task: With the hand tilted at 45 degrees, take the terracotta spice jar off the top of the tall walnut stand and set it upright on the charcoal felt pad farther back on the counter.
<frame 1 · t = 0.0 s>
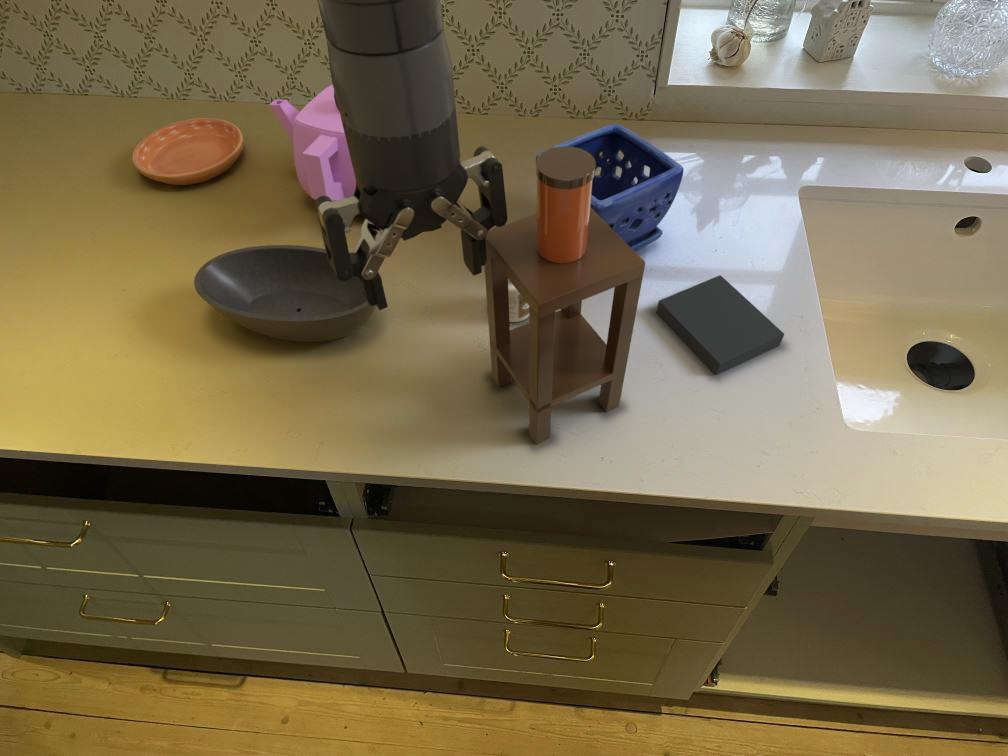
hand: (427, 285, 55), 18 cm above the worktop, tool pointing down, fingers open, 8 cm apart
spice jar: (561, 247, 54), point 20 cm above the worktop, touching stand
pill bottle: (514, 311, 78), on the worktop
flower pot: (600, 240, 86), on the worktop
pad: (716, 328, 75), on the worktop
teapot: (371, 193, 94), on the worktop
stand: (554, 392, 70), on the worktop
saucer: (195, 163, 100), on the worktop
bowl: (302, 320, 78), on the worktop
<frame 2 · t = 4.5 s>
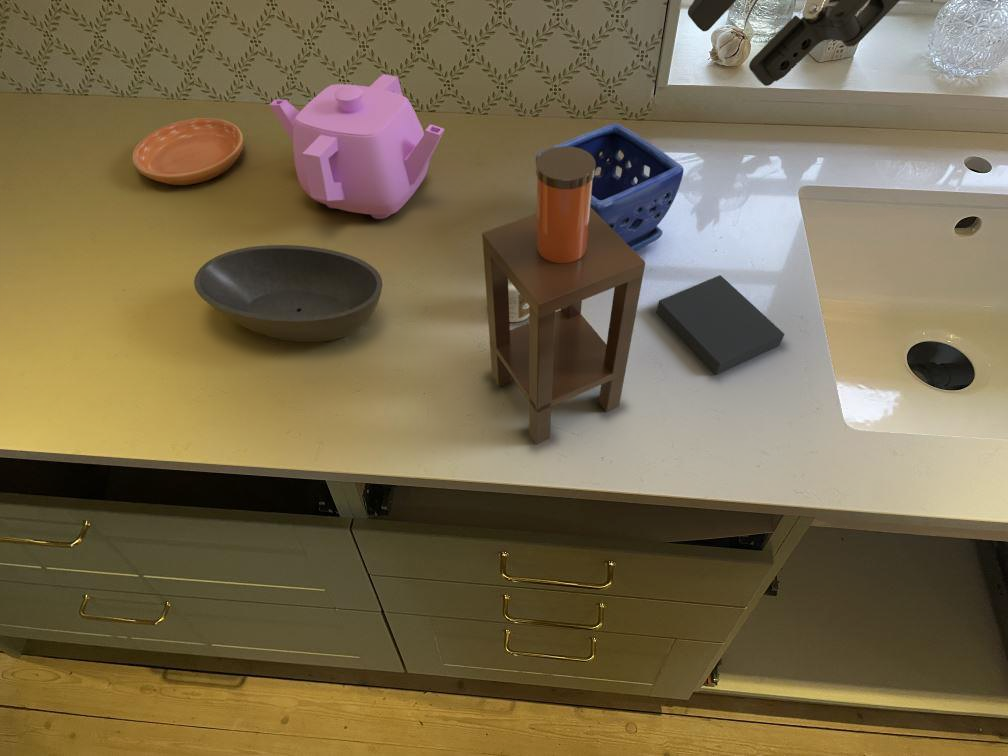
hand: (724, 48, 45), 34 cm above the worktop, tool tilted 45°, fingers open, 8 cm apart
nothing on the worktop moved.
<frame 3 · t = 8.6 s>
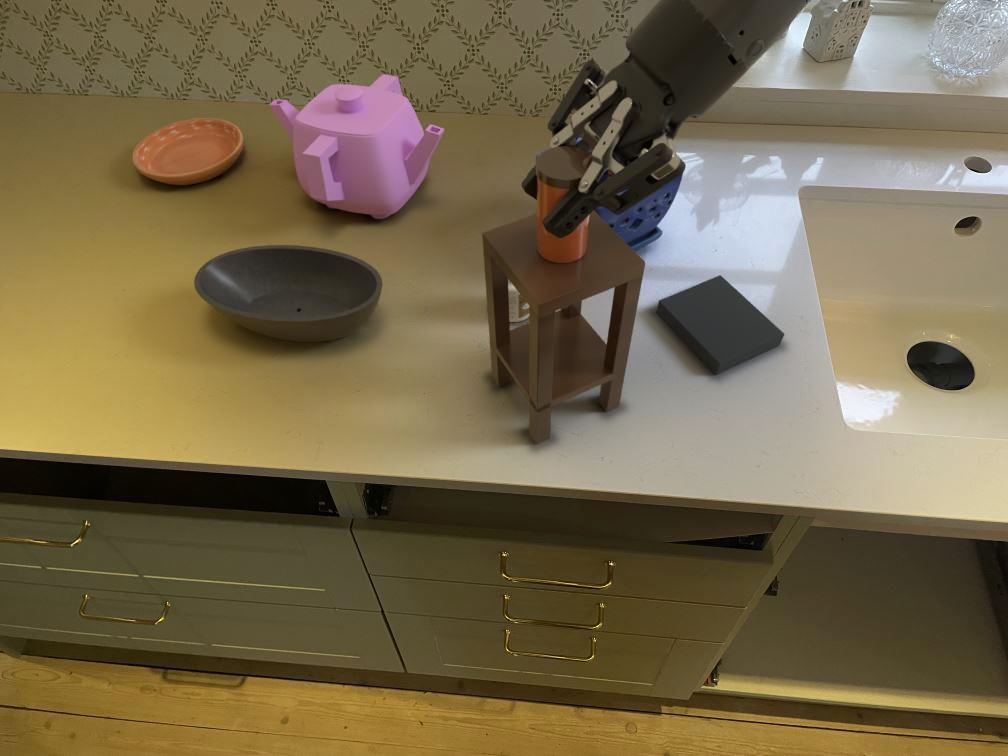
hand: (540, 211, 51), 24 cm above the worktop, tool tilted 45°, fingers closed on spice jar, 4 cm apart
spice jar: (561, 247, 54), point 20 cm above the worktop, touching gripper, stand
everything else where it was.
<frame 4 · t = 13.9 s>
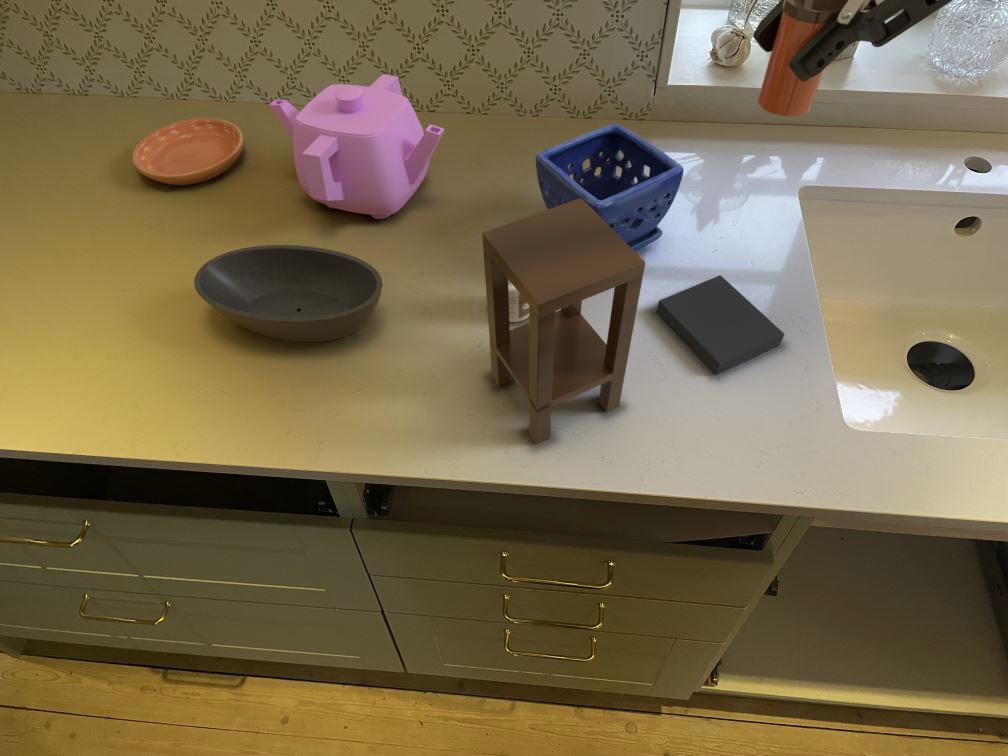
hand: (778, 57, 50), 31 cm above the worktop, tool tilted 45°, fingers closed on spice jar, 4 cm apart
spice jar: (784, 103, 53), point 27 cm above the worktop, touching gripper
everything else where it was.
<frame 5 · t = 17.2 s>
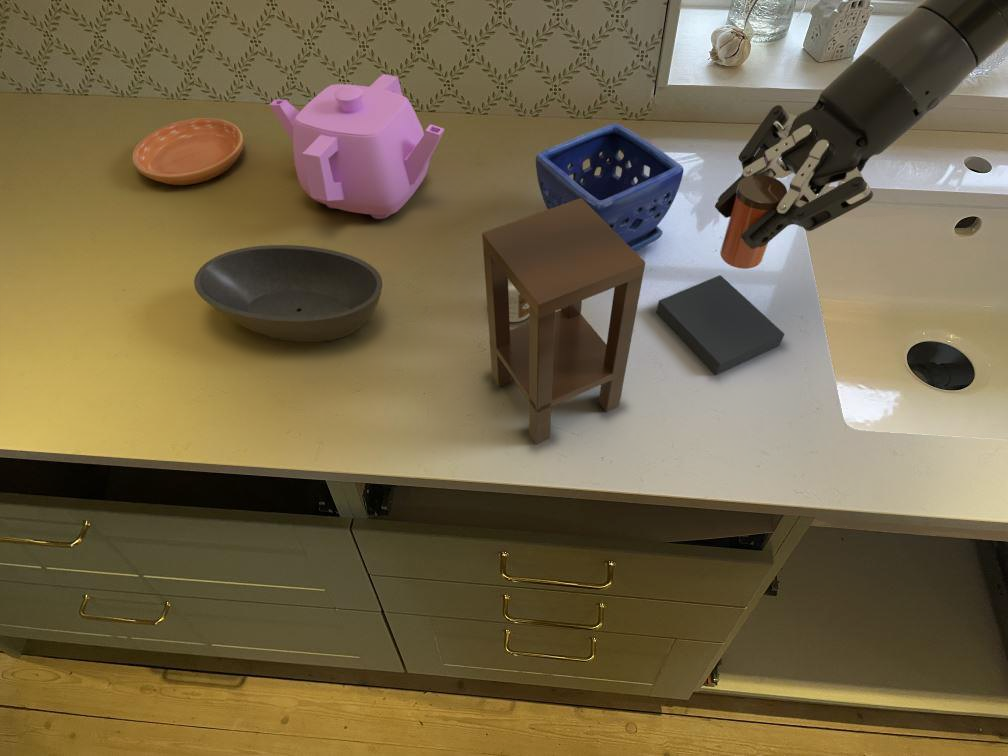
hand: (733, 227, 63), 15 cm above the worktop, tool tilted 45°, fingers closed on spice jar, 4 cm apart
spice jar: (740, 255, 66), point 11 cm above the worktop, touching gripper
everything else where it was.
when the fingers open (6 cm above the worktop, at t = 19.7 s): spice jar stays where it is, resting on pad.
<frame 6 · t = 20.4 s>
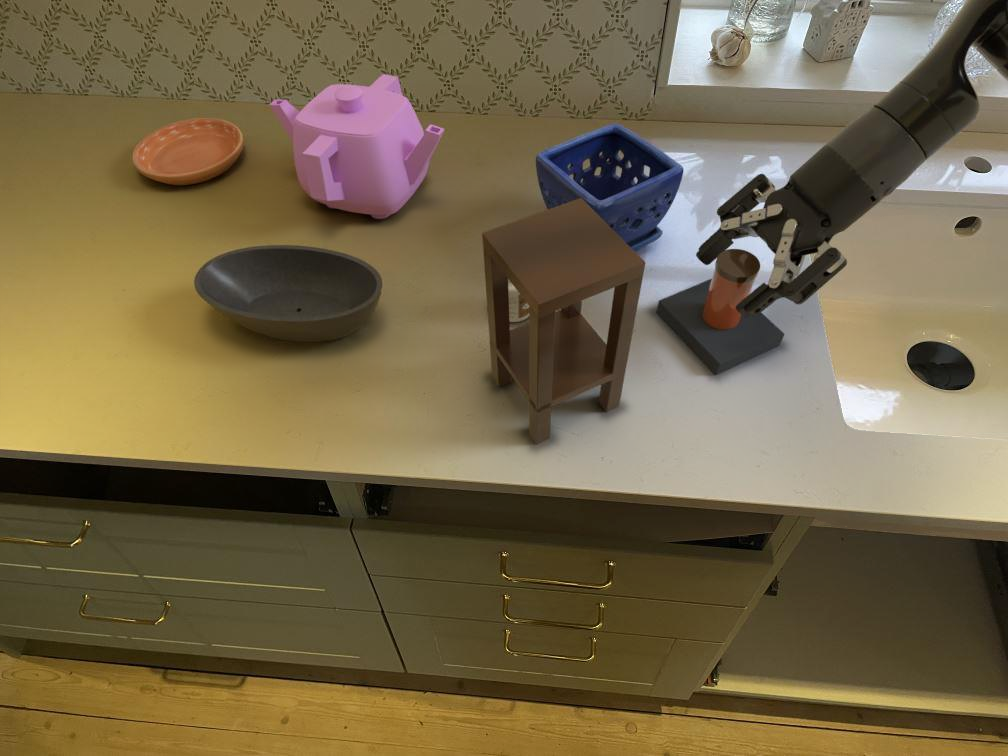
hand: (720, 286, 69), 7 cm above the worktop, tool tilted 45°, fingers open, 8 cm apart
spice jar: (720, 316, 73), point 2 cm above the worktop, touching pad
everything else where it was.
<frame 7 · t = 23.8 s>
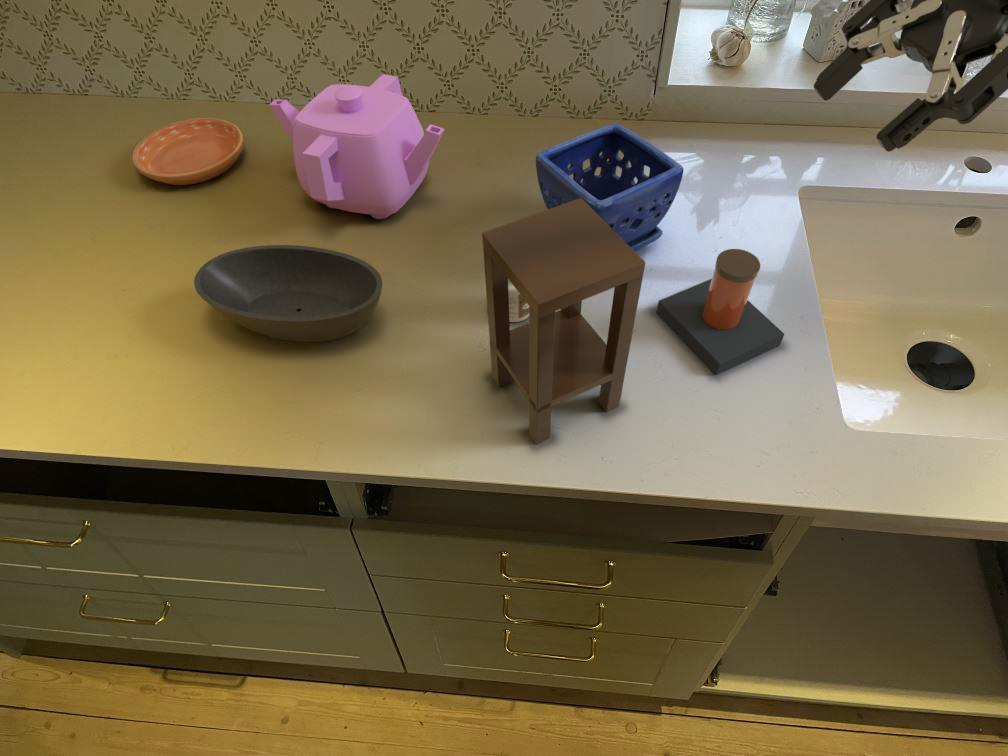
hand: (849, 118, 54), 26 cm above the worktop, tool tilted 45°, fingers open, 8 cm apart
nothing on the worktop moved.
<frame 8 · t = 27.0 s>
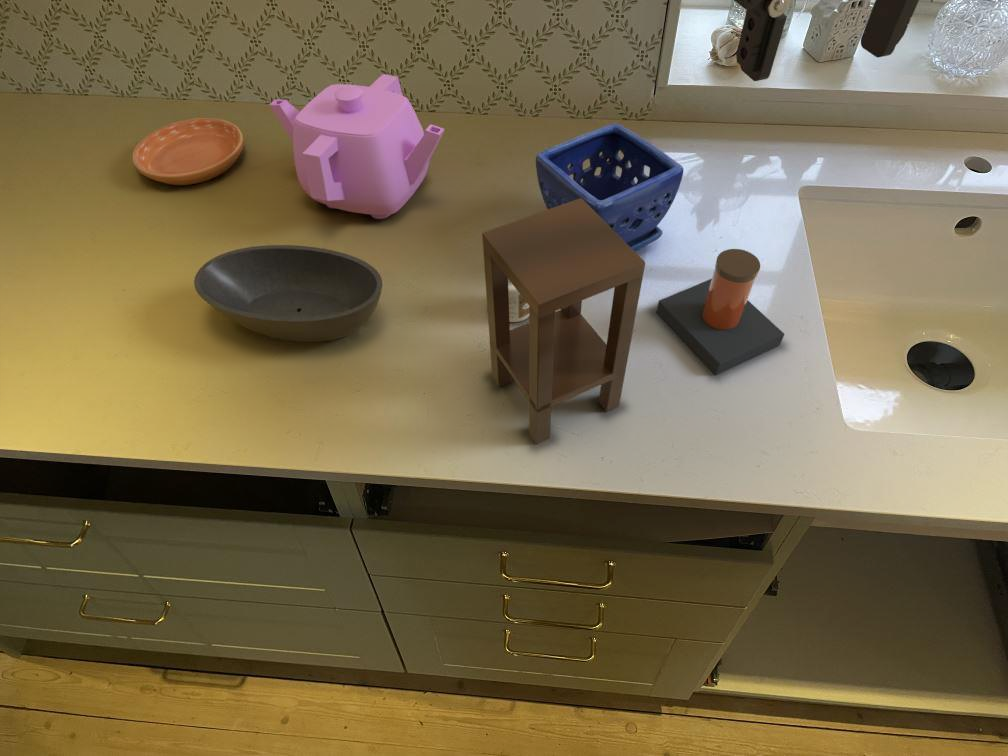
hand: (814, 62, 40), 36 cm above the worktop, tool pointing down, fingers open, 8 cm apart
nothing on the worktop moved.
at the end: spice jar inside the target area on the pad (0.1 cm from its centre), point 2.0 cm above the pad's base; spice jar tilted 0°; the gripper is holding nothing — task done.
